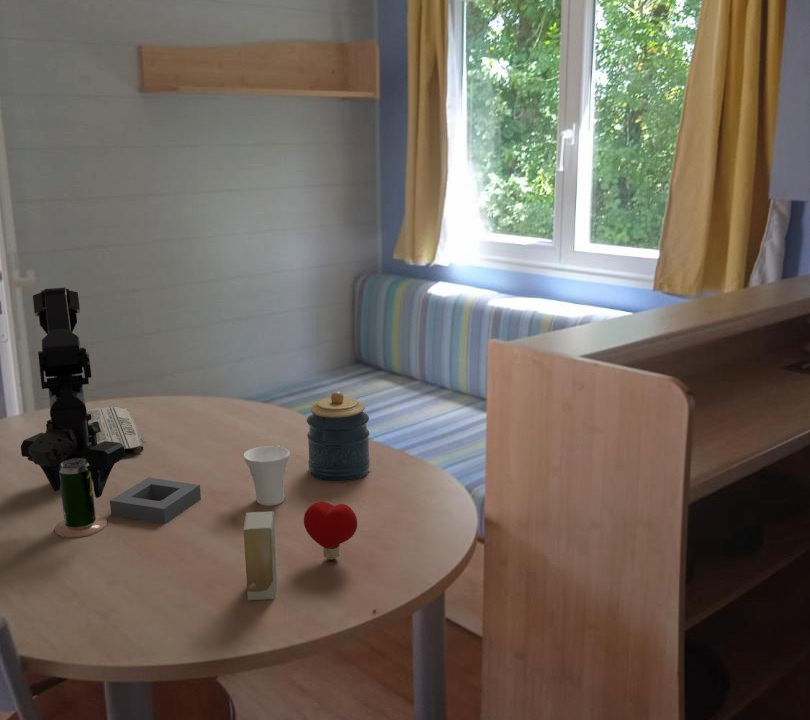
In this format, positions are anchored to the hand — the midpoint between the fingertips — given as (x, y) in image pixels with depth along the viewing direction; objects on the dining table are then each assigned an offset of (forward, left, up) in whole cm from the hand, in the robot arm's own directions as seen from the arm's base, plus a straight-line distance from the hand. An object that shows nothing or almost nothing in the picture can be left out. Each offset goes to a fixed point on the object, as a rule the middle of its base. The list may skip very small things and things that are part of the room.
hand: (77, 493), depth 162 cm
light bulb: (+49, +3, -7) cm, 50 cm away
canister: (+34, +40, -7) cm, 53 cm away
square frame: (+8, +12, -6) cm, 16 cm away
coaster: (0, 0, -6) cm, 6 cm away
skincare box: (+43, -10, -7) cm, 45 cm away
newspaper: (-27, +45, -7) cm, 53 cm away
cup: (+27, +22, -7) cm, 35 cm away
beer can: (0, 0, -6) cm, 6 cm away
